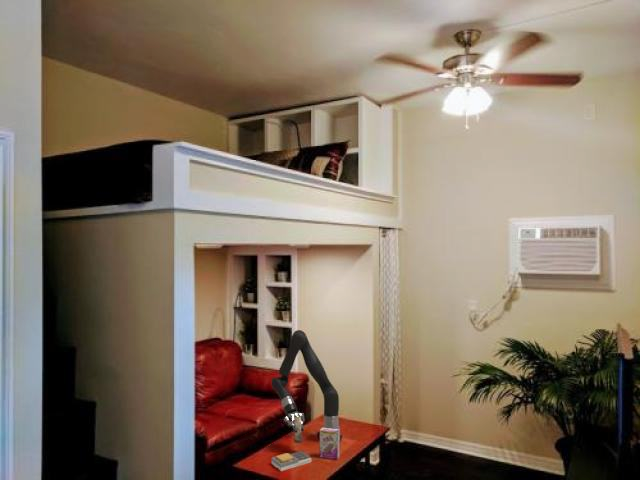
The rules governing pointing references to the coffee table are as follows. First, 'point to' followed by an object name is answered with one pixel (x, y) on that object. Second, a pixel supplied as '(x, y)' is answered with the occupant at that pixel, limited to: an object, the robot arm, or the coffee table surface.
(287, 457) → the amber key
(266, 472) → the coffee table surface
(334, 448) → the candy bar box
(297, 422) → the beige rounded cylinder
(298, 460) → the keyboard
